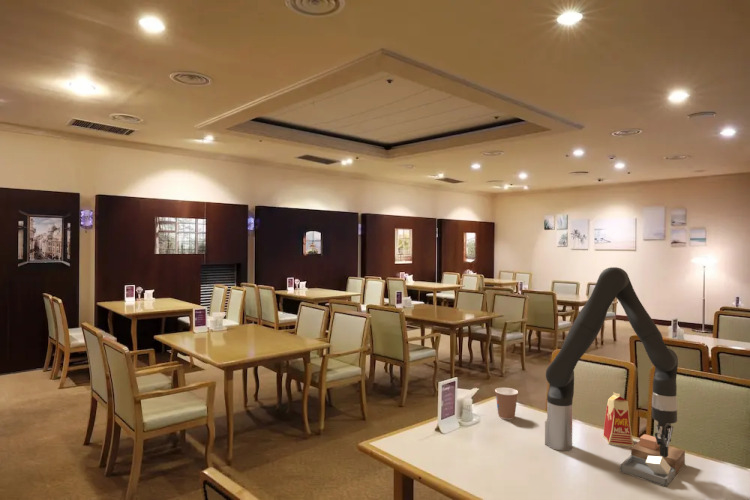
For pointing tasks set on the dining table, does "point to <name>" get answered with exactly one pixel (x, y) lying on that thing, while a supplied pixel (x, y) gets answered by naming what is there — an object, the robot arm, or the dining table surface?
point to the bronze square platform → (673, 459)
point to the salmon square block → (648, 442)
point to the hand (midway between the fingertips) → (664, 455)
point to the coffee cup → (506, 402)
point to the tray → (645, 471)
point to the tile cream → (658, 465)
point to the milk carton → (617, 422)
